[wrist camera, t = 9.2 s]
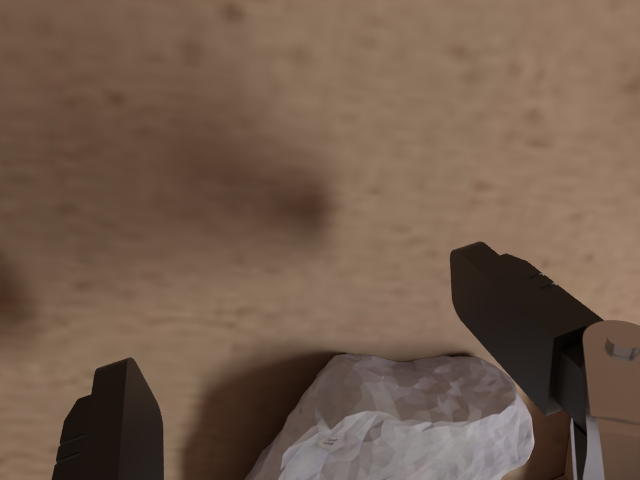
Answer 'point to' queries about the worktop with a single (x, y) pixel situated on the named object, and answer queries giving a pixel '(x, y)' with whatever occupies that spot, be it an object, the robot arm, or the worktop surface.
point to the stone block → (402, 423)
